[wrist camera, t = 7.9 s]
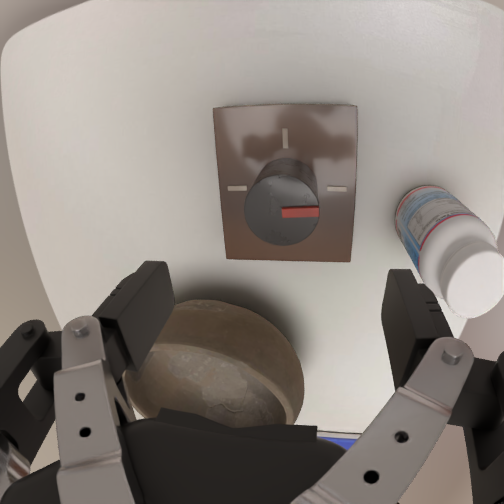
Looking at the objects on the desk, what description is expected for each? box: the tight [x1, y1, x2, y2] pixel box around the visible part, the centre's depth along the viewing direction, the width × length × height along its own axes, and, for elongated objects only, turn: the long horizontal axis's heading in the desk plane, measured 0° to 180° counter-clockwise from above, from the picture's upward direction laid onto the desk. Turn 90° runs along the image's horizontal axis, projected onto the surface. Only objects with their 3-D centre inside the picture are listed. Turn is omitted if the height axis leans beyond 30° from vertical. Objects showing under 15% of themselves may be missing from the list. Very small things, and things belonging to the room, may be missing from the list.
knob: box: [244, 158, 320, 246], centre depth 21 cm, size 4×4×5 cm
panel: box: [213, 104, 357, 262], centre depth 24 cm, size 12×10×3 cm
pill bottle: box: [395, 186, 504, 318], centre depth 20 cm, size 6×6×11 cm
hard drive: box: [317, 432, 361, 450], centre depth 42 cm, size 2×8×12 cm
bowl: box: [123, 300, 304, 428], centre depth 31 cm, size 17×18×10 cm
